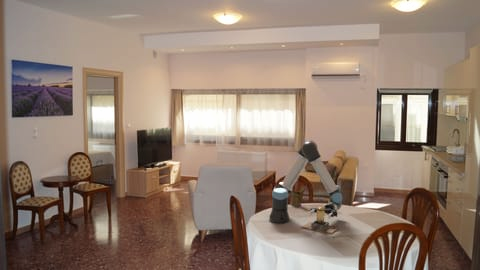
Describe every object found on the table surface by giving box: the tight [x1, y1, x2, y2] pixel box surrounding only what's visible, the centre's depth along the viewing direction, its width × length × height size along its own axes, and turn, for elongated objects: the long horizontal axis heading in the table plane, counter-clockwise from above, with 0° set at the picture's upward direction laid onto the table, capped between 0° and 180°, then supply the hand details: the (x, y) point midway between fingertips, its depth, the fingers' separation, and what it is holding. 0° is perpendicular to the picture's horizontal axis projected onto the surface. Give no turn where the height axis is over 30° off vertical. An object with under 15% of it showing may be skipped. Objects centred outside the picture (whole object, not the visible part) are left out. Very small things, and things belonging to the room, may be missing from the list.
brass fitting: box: [315, 205, 325, 225], centre depth 276 cm, size 6×6×14 cm
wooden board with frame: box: [301, 219, 340, 235], centre depth 277 cm, size 22×14×4 cm, turn 57°
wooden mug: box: [289, 185, 306, 207], centre depth 340 cm, size 9×14×18 cm, turn 55°
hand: (319, 215), depth 274 cm, fingers open, 13 cm apart
